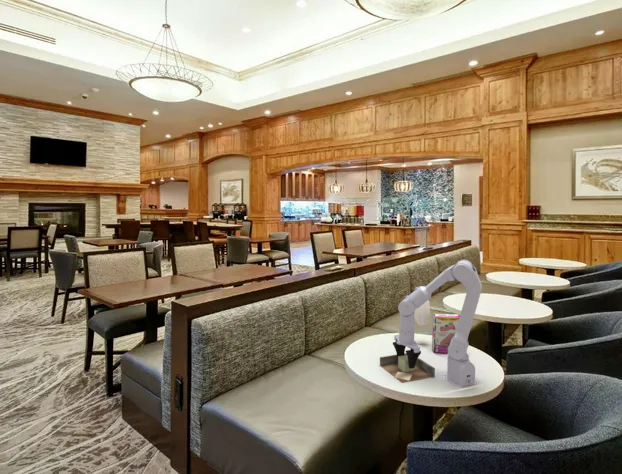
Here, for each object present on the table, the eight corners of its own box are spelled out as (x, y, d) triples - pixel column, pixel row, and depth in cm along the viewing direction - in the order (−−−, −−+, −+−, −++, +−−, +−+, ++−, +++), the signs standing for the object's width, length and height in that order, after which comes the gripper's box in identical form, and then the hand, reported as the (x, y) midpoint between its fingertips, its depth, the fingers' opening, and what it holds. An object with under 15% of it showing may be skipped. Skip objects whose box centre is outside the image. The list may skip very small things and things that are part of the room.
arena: (434, 378, 141) (434, 368, 141) (400, 384, 136) (401, 374, 136) (409, 361, 156) (410, 352, 156) (378, 367, 151) (379, 357, 151)
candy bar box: (434, 353, 165) (434, 316, 163) (431, 349, 170) (432, 313, 168) (460, 354, 164) (461, 317, 162) (457, 350, 169) (458, 313, 167)
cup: (411, 342, 179) (411, 298, 177) (426, 341, 179) (426, 298, 177) (416, 347, 172) (416, 302, 170) (431, 347, 172) (432, 302, 170)
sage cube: (414, 370, 147) (414, 359, 146) (404, 372, 145) (404, 360, 145) (408, 365, 151) (408, 354, 150) (398, 367, 149) (398, 356, 149)
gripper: (387, 325, 152) (387, 358, 153) (408, 337, 138) (407, 373, 140) (403, 323, 154) (402, 355, 156) (424, 335, 141) (424, 370, 142)
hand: (406, 364), depth 148 cm, fingers open, 7 cm apart
